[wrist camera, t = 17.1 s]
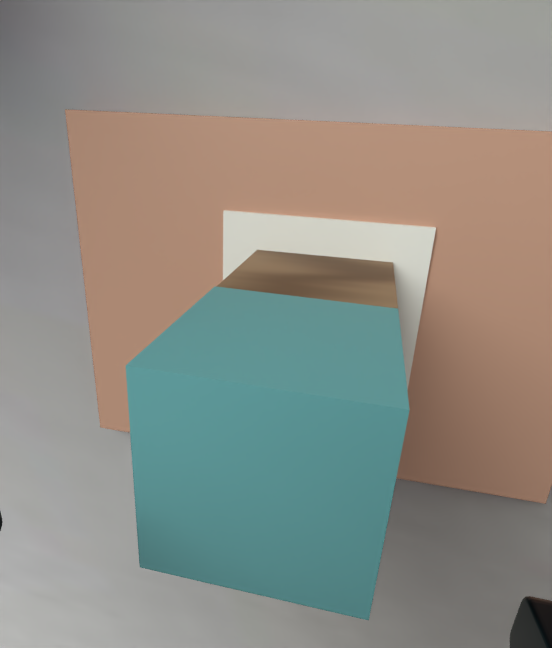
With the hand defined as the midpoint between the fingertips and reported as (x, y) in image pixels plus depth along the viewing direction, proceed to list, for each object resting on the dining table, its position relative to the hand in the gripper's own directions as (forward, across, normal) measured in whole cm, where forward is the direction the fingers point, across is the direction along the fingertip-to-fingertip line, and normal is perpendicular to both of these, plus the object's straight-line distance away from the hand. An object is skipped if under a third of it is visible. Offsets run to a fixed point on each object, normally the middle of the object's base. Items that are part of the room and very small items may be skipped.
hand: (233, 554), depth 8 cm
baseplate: (+12, 0, 0) cm, 12 cm away
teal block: (+6, 0, 0) cm, 6 cm away
